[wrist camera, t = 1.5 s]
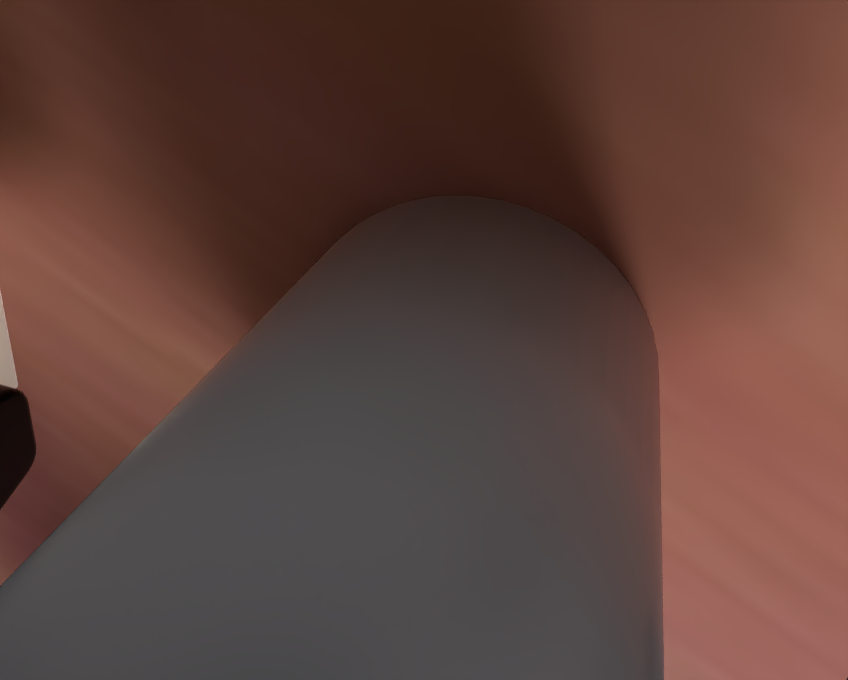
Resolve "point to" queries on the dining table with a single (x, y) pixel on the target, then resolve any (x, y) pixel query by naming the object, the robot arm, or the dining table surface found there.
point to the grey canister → (384, 480)
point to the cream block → (6, 353)
